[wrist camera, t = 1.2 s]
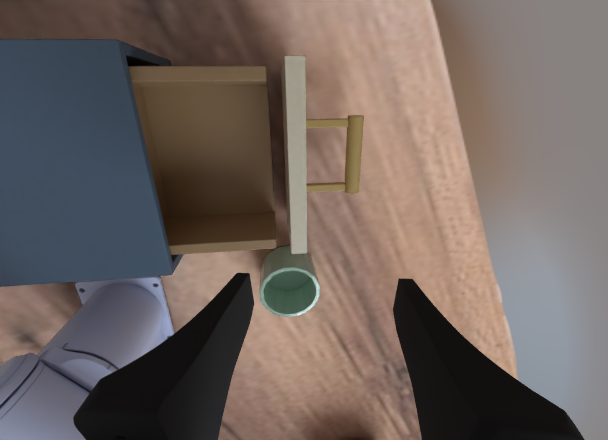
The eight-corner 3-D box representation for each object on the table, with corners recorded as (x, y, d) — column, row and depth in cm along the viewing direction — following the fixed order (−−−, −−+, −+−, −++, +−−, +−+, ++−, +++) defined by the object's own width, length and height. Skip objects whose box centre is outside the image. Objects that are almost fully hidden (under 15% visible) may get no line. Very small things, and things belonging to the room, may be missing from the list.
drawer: (355, 67, 23) (386, 55, 17) (348, 216, 28) (369, 249, 22) (132, 68, 21) (76, 55, 15) (167, 226, 26) (136, 264, 20)
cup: (313, 288, 32) (319, 314, 28) (263, 292, 31) (262, 319, 27) (313, 243, 29) (319, 265, 26) (259, 247, 29) (257, 269, 25)
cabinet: (170, 60, 22) (117, 39, 14) (199, 227, 27) (172, 275, 20) (-18, 60, 21) (-183, 37, 13) (53, 235, 26) (-35, 289, 19)
